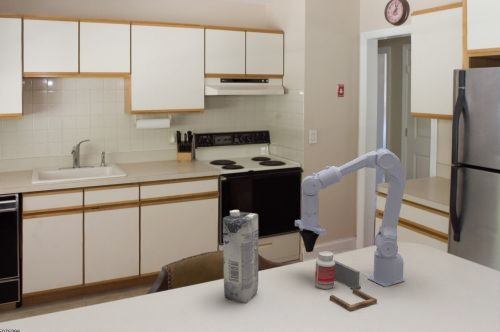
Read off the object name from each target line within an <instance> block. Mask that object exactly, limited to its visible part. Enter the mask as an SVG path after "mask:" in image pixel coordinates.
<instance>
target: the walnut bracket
mask: <svg viewBox="0 0 500 332" xmlns="http://www.w3.org/2000/svg"><path fill="white" fill-rule="evenodd" d="M352 294H353V295H355V296H357V297H358V298H362V299H363V301H360V302H355V303H352V304H351V303H348V302H346V301H344V300H343V299H341V298H339V297H337V296H336V295H334V294H332V295H331V294H330V295H329V300H330V301H331V302H333V303H335V304H337V305H339V306H340V307H342V308H343V309H346V310H347V311H349V312H353V311H356V310H359V309H362V308H366V307H370V306H372V305H376V304H378V299H377V298H375V297H374V296H371V295H369V294H367V293H365V292H363V291H361V290H360V289H359V290H357V289H353V290H352Z"/></svg>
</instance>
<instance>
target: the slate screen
mask: <svg viewBox="0 0 500 332" xmlns="http://www.w3.org/2000/svg"><path fill="white" fill-rule="evenodd" d="M333 260H334V261H335V275H334V281H337V282H339V283H340V284H343V285H345V286H347V287H348V288H349V289H350V290H351V291H353V289H357V290H359V291H360V290H361V289H362V286H361V285H360V271H359V270H356V269H355V268H352V267H350V266H348V265H346V264H344V263H341V262H339V261H337V260H335V259H333Z"/></svg>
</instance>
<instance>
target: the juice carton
mask: <svg viewBox="0 0 500 332" xmlns="http://www.w3.org/2000/svg"><path fill="white" fill-rule="evenodd" d="M222 239H223V241H222V243H223V244H222V245H223V246H222V249H223V290H224V298H225V299H226V300H229V301H235V302H239V303H244V304H245V303H247V302H248V301H249V300H250V299H251V298H253V297H254V296H255V295H256V294H257V292H258V290H259V214H258V213H255V212H254V213H252V212H244V211H240V210H239V209H233V210H229V215H228V216H224V217H223V218H222Z"/></svg>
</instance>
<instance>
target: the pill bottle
mask: <svg viewBox="0 0 500 332" xmlns="http://www.w3.org/2000/svg"><path fill="white" fill-rule="evenodd" d="M334 260H335V259H334V252H331V251H329V250H321V251H319V252H318V257H317V258H316V261H315V273H314V286H316V287H317V288H319V289H322V290H328V289H332V288H334V286H335V279H334V275H335V261H336V260H335V261H334Z"/></svg>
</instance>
